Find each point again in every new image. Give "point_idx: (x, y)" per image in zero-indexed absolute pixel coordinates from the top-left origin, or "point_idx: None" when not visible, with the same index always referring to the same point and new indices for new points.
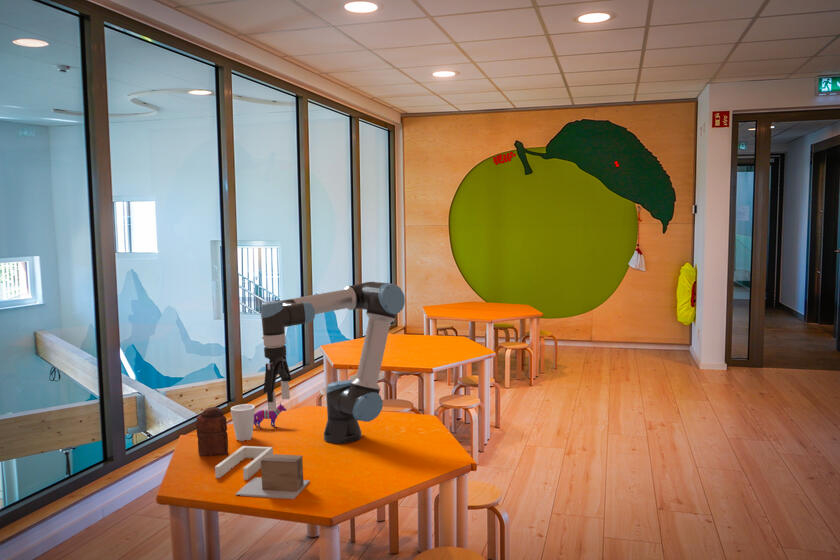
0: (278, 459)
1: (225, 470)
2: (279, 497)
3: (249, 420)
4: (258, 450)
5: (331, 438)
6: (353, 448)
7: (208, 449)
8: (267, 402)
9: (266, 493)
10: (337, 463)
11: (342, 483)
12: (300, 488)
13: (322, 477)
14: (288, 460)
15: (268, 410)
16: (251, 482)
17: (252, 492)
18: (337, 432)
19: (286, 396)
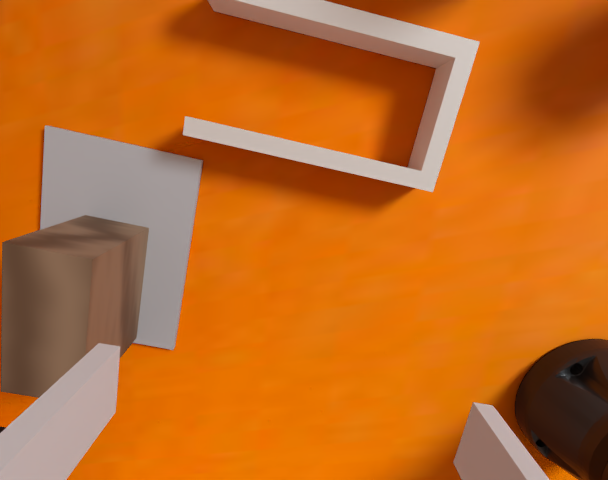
0: (21, 318)
1: (264, 20)
2: None
3: None
4: (430, 128)
5: (540, 380)
6: (461, 437)
7: None
8: (38, 399)
9: None
10: (330, 405)
11: (165, 434)
12: None
13: (213, 377)
14: (15, 361)
15: (96, 349)
16: (151, 161)
17: (60, 185)
18: (550, 416)
19: (473, 464)
